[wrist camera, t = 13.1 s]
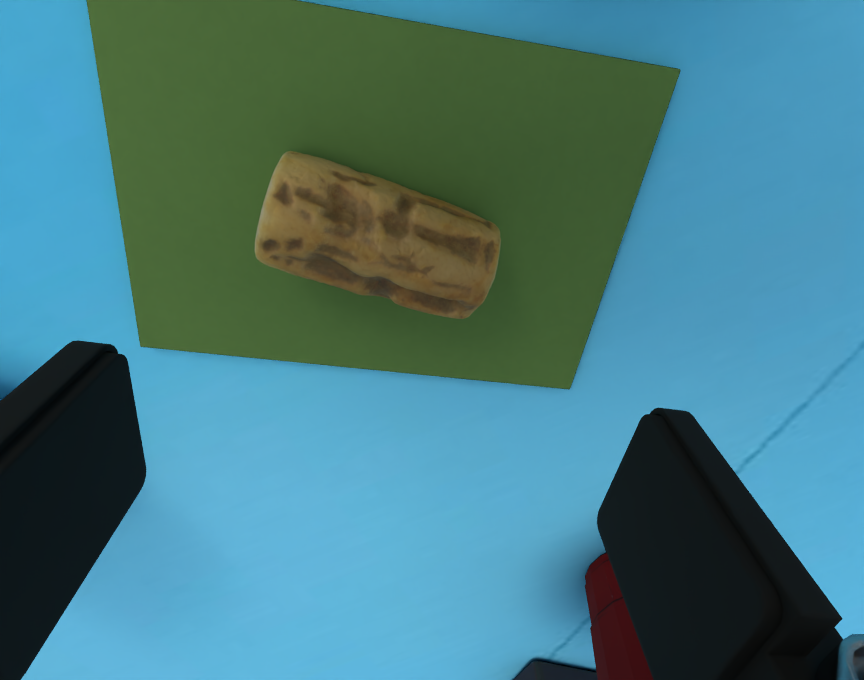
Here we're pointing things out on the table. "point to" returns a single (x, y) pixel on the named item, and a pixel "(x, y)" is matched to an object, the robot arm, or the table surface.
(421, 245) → the carved stone cylinder
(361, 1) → the table surface
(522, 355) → the green mat
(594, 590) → the plastic cup
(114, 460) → the robot arm
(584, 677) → the calculator
